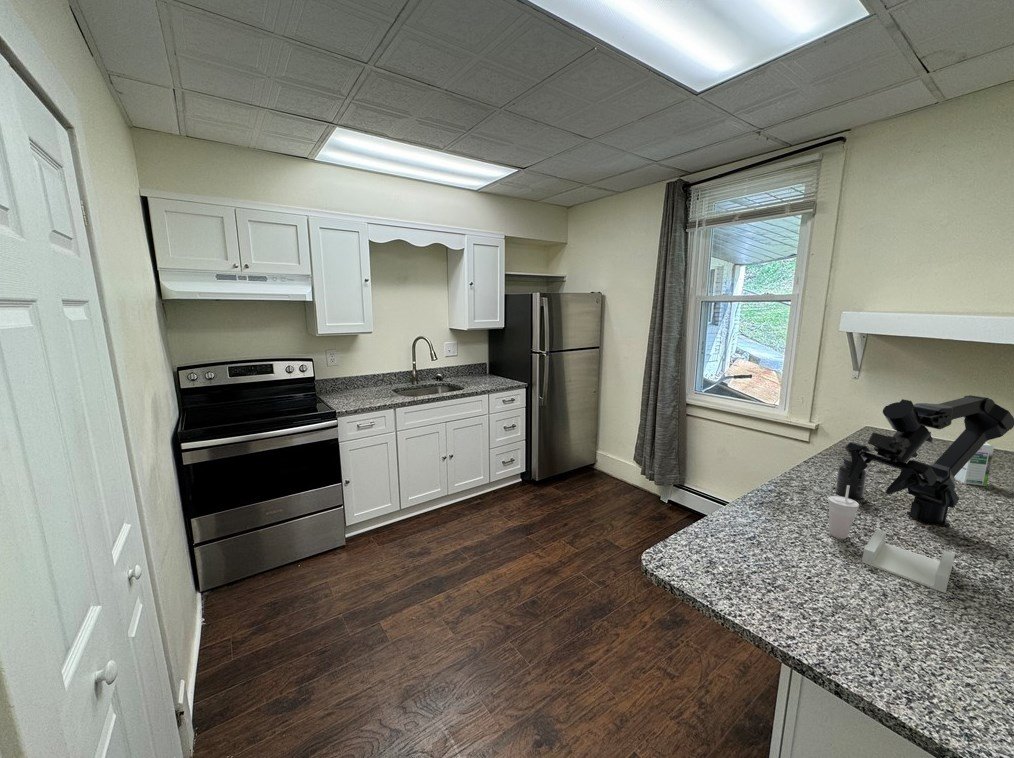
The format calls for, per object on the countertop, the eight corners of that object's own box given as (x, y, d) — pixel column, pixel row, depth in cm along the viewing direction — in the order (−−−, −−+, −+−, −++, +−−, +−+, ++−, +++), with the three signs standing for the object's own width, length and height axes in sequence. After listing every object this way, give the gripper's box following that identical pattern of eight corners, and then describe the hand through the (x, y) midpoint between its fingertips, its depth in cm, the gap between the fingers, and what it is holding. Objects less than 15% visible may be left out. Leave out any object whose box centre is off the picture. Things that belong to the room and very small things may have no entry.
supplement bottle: (856, 491, 134) (862, 457, 132) (867, 501, 127) (872, 464, 125) (831, 488, 136) (836, 454, 134) (840, 497, 130) (845, 461, 128)
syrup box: (964, 483, 140) (972, 443, 138) (953, 477, 146) (961, 438, 143) (986, 486, 138) (995, 445, 136) (974, 479, 144) (983, 440, 141)
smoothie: (859, 543, 104) (868, 491, 102) (831, 540, 106) (839, 489, 103) (844, 530, 111) (852, 481, 108) (818, 527, 112) (825, 479, 109)
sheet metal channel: (874, 541, 105) (877, 529, 105) (952, 567, 95) (955, 553, 94) (861, 562, 96) (864, 548, 96) (945, 593, 86) (948, 578, 85)
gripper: (854, 414, 115) (818, 454, 114) (937, 433, 97) (895, 481, 96) (871, 439, 118) (836, 478, 118) (954, 462, 100) (914, 509, 100)
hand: (867, 485), depth 108 cm, fingers open, 9 cm apart
